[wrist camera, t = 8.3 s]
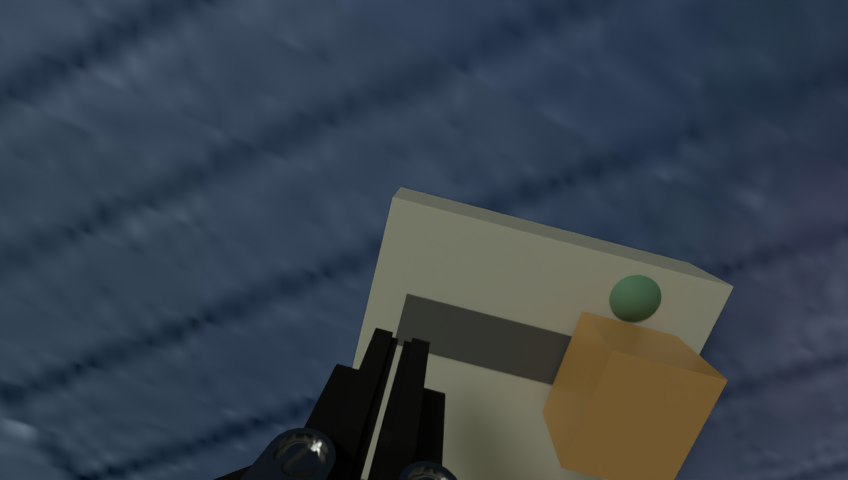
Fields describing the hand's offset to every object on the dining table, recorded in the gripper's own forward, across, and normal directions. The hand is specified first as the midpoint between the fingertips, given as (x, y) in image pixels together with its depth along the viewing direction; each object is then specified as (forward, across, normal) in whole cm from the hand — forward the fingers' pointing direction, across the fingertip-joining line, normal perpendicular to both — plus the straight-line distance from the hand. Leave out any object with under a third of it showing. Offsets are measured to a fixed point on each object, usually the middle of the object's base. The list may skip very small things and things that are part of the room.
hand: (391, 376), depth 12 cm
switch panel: (+8, -5, +6) cm, 11 cm away
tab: (+5, -9, +1) cm, 10 cm away
